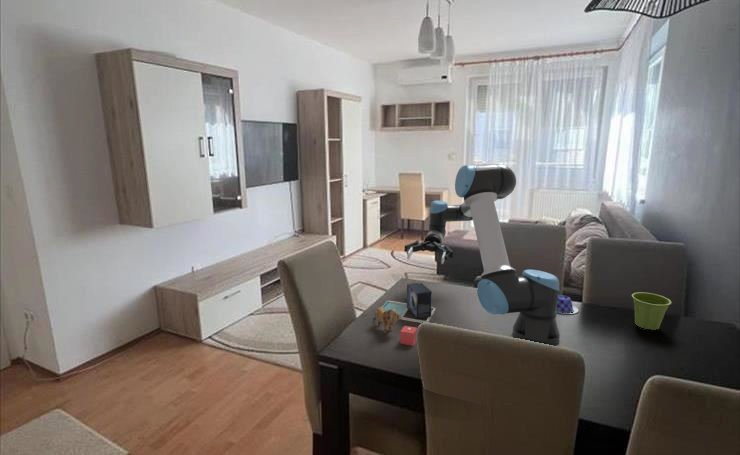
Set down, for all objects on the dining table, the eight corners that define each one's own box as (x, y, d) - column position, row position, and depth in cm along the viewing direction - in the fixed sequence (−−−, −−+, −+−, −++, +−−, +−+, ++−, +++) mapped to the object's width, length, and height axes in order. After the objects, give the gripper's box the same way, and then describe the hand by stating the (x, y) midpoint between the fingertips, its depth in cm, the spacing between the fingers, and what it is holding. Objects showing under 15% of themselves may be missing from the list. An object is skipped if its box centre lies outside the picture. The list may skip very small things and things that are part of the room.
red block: (416, 340, 139) (417, 326, 138) (413, 346, 135) (413, 331, 134) (404, 337, 141) (404, 324, 140) (400, 343, 137) (400, 329, 136)
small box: (405, 308, 164) (405, 283, 162) (420, 306, 166) (420, 281, 164) (416, 319, 154) (416, 292, 152) (431, 316, 156) (432, 290, 154)
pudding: (577, 317, 158) (578, 305, 157) (544, 311, 163) (545, 299, 162) (579, 307, 168) (580, 295, 167) (547, 301, 174) (548, 290, 173)
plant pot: (620, 324, 152) (624, 295, 149) (639, 317, 157) (643, 290, 155) (654, 337, 141) (659, 307, 139) (673, 330, 147) (678, 301, 144)
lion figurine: (402, 333, 144) (402, 309, 142) (390, 337, 141) (390, 313, 139) (378, 318, 156) (378, 296, 154) (366, 322, 153) (366, 299, 151)
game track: (435, 309, 165) (435, 307, 164) (427, 323, 152) (427, 321, 152) (387, 302, 172) (387, 300, 172) (375, 315, 159) (375, 313, 159)
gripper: (461, 252, 178) (456, 271, 159) (405, 245, 185) (394, 262, 165) (462, 236, 176) (458, 253, 156) (406, 229, 182) (395, 245, 163)
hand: (425, 258), depth 161 cm, fingers open, 13 cm apart
